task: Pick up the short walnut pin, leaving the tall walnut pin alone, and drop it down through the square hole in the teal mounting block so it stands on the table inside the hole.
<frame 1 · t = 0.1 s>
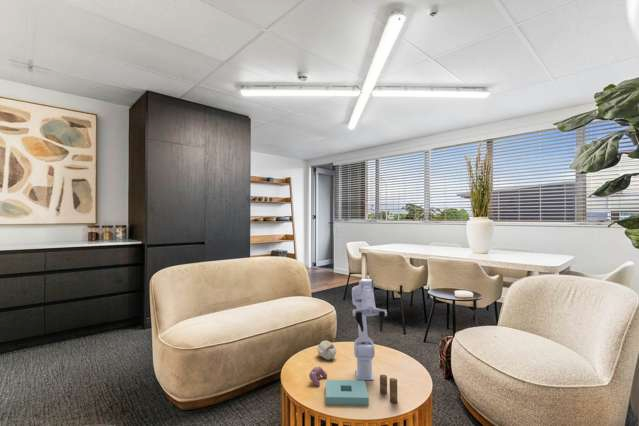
hand: (371, 330, 122), 32 cm above the table, tool tilted 50°, fingers open, 7 cm apart
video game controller: (318, 381, 144), on the table
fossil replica: (326, 357, 170), on the table
tall pin: (393, 401, 127), on the table
short pin: (383, 392, 134), on the table
mounting block: (346, 395, 132), on the table
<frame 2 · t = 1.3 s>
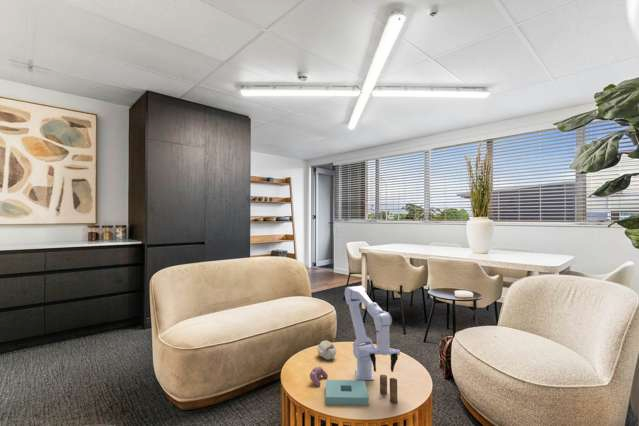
hand: (383, 370, 135), 9 cm above the table, tool pointing down, fingers open, 7 cm apart
nothing on the table moved.
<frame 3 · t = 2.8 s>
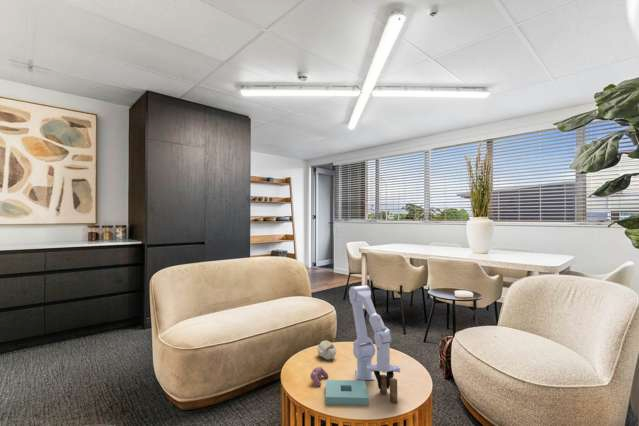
hand: (383, 387, 134), 2 cm above the table, tool pointing down, fingers closed on short pin, 3 cm apart
short pin: (383, 392, 134), on the table, touching gripper
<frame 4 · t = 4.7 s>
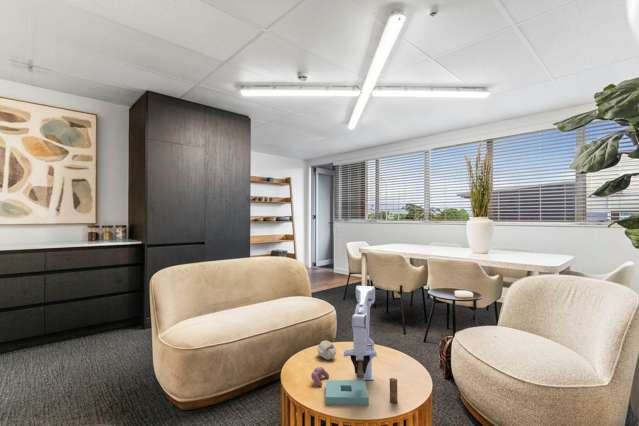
hand: (360, 372, 133), 9 cm above the table, tool pointing down, fingers closed on short pin, 3 cm apart
short pin: (360, 376, 133), point 8 cm above the table, touching gripper
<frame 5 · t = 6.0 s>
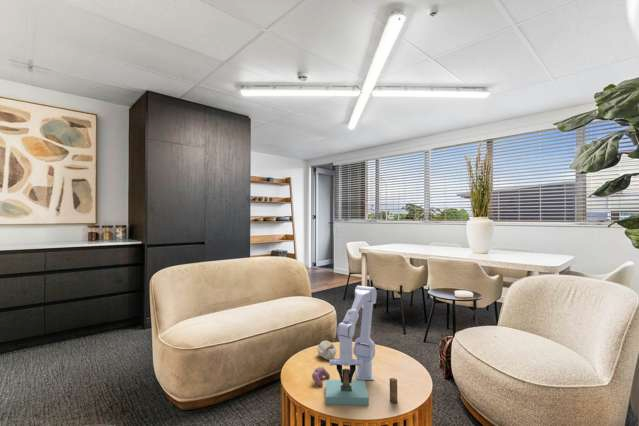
hand: (346, 381, 132), 6 cm above the table, tool pointing down, fingers closed on short pin, 3 cm apart
short pin: (346, 386, 132), point 4 cm above the table, touching gripper
when the fingers open (4 cm above the table, at t = 6.7 s): short pin drops 2 cm, resting in mounting block.
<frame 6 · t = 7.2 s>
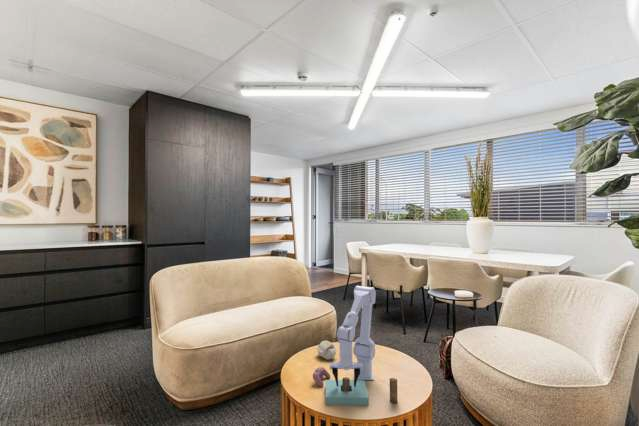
hand: (346, 385, 132), 4 cm above the table, tool pointing down, fingers open, 7 cm apart
short pin: (346, 395, 132), resting in mounting block
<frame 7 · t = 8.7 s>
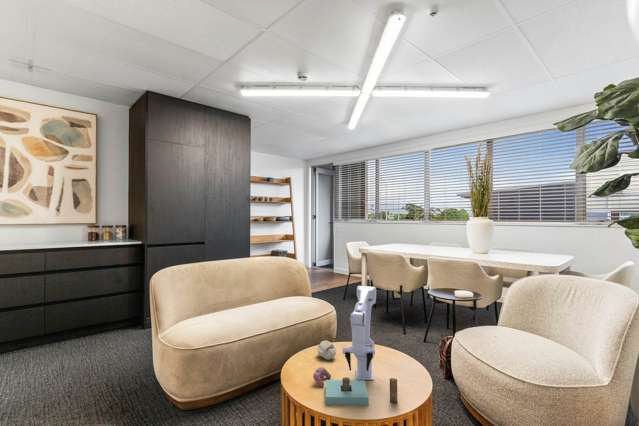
hand: (358, 369, 134), 10 cm above the table, tool pointing down, fingers open, 7 cm apart
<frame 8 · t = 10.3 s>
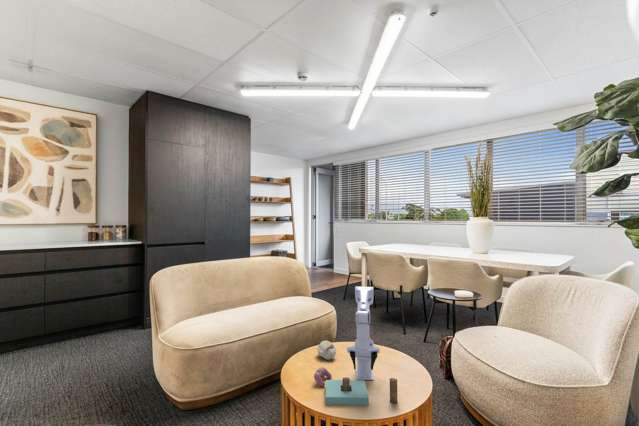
hand: (363, 368, 134), 10 cm above the table, tool pointing down, fingers open, 7 cm apart
at the end: short pin 0.1 cm off-centre on the mounting block, point 0.0 cm above the mounting block's base; short pin tilted 0°; tall pin moved 0.0 cm from its start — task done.
